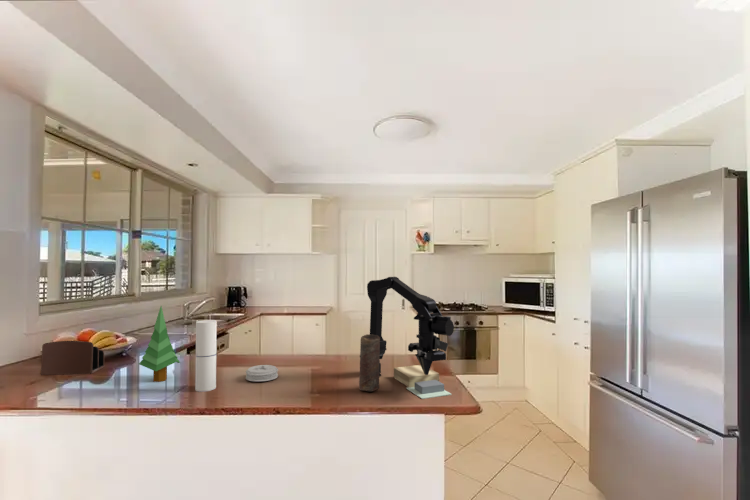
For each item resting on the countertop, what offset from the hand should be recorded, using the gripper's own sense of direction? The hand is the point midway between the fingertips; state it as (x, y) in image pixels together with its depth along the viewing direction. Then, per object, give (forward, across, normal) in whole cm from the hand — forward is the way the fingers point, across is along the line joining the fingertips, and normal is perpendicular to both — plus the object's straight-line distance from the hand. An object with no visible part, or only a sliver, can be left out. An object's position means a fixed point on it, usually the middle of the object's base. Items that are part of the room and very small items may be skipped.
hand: (426, 374), depth 150 cm
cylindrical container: (+6, +32, +76) cm, 83 cm away
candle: (+6, +7, +20) cm, 22 cm away
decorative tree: (+6, +50, +93) cm, 106 cm away
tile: (+3, -2, 0) cm, 3 cm away
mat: (+6, -2, 0) cm, 6 cm away
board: (+6, +11, -2) cm, 12 cm away
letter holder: (+6, +78, +129) cm, 151 cm away
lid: (+6, +37, +55) cm, 67 cm away
